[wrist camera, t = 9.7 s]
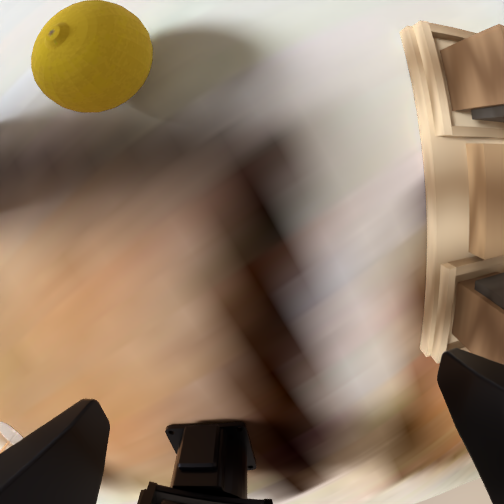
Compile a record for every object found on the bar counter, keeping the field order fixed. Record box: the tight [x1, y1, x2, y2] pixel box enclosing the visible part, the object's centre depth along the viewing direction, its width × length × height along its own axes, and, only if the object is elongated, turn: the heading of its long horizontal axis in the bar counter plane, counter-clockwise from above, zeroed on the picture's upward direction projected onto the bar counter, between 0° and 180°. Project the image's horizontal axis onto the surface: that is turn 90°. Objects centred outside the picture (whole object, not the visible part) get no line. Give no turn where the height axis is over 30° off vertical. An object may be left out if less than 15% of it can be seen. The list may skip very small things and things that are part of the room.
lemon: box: [31, 0, 153, 113], centre depth 11 cm, size 6×6×8 cm
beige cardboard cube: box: [440, 24, 504, 123], centre depth 11 cm, size 5×4×6 cm
